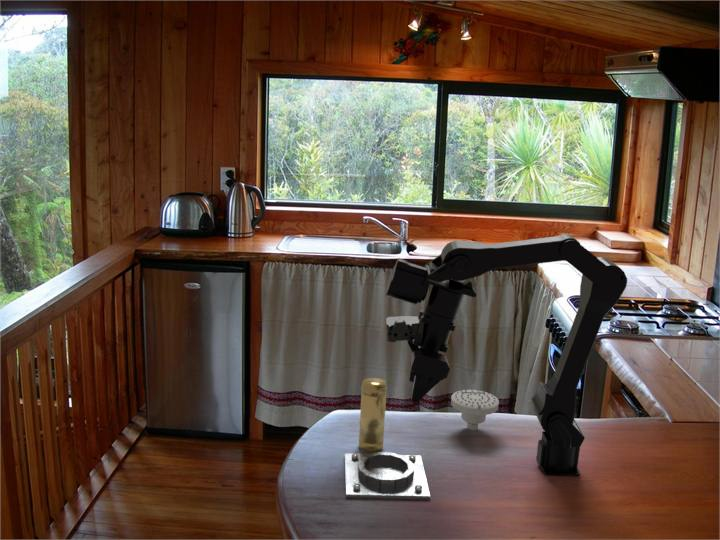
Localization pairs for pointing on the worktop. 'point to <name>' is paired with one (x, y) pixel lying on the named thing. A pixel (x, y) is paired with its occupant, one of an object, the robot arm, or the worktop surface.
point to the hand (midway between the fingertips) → (412, 391)
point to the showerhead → (474, 406)
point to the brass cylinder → (372, 415)
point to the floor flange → (385, 476)
